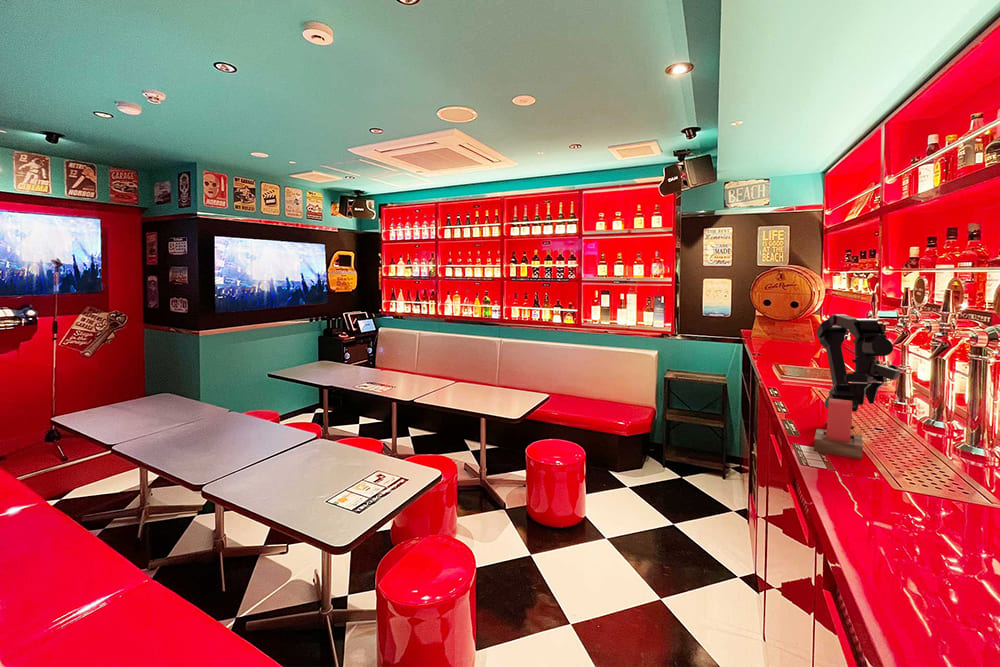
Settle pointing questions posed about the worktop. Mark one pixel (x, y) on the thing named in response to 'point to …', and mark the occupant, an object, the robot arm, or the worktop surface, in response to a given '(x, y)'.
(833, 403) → the red brick
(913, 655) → the worktop surface
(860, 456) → the walnut base
